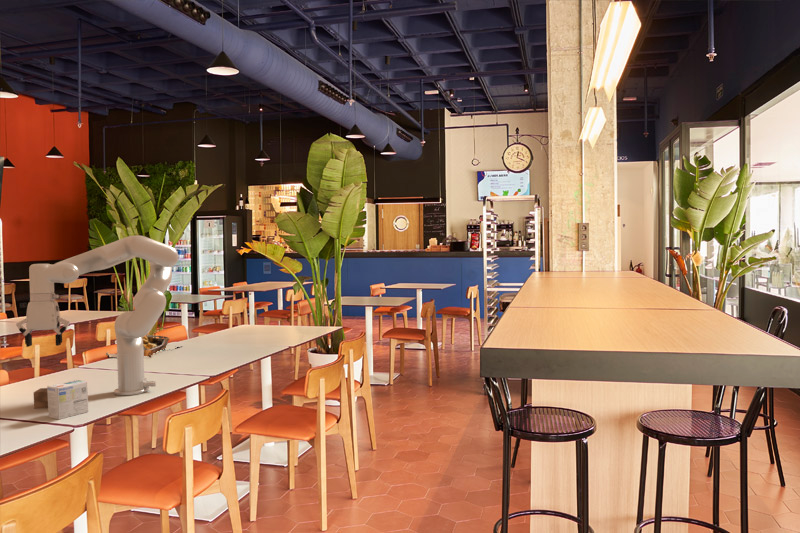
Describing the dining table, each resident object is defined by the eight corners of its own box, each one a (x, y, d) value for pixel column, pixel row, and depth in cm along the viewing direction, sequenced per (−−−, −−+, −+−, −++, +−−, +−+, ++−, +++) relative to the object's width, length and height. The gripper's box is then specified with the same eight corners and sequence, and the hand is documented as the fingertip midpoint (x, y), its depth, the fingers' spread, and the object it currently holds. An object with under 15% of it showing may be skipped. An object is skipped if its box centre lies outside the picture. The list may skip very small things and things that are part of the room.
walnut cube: (58, 403, 222) (58, 387, 222) (52, 407, 216) (51, 391, 216) (40, 404, 221) (40, 388, 221) (34, 409, 215) (33, 392, 215)
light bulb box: (78, 409, 214) (76, 379, 213) (89, 412, 210) (88, 381, 210) (47, 417, 204) (46, 385, 204) (58, 420, 201) (57, 387, 201)
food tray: (141, 347, 350) (141, 328, 349) (183, 347, 346) (183, 328, 346) (104, 358, 315) (103, 338, 314) (150, 359, 312) (150, 338, 311)
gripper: (72, 296, 223) (73, 343, 223) (20, 297, 220) (22, 345, 220) (64, 298, 215) (66, 346, 216) (11, 299, 212) (12, 348, 213)
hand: (43, 345), depth 218 cm, fingers open, 9 cm apart
